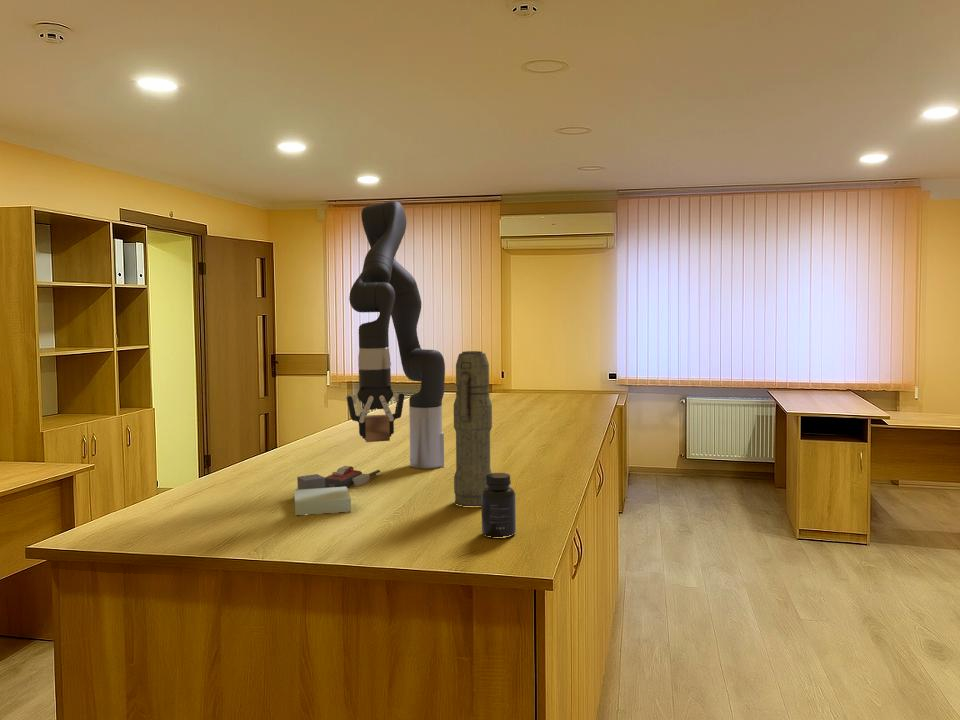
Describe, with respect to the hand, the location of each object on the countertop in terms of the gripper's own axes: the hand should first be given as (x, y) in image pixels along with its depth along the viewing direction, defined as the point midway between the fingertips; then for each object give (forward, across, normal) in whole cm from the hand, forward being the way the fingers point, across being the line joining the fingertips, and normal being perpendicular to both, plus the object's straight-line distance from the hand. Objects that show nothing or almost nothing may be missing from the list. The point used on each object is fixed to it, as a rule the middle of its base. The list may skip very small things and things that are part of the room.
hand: (376, 436), depth 184 cm
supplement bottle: (+14, -19, +38) cm, 45 cm away
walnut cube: (+1, 0, 0) cm, 1 cm away
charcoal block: (+14, +16, -3) cm, 21 cm away
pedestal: (+14, +14, +7) cm, 21 cm away
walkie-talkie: (+15, +5, -17) cm, 23 cm away
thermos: (+15, -20, +13) cm, 28 cm away
